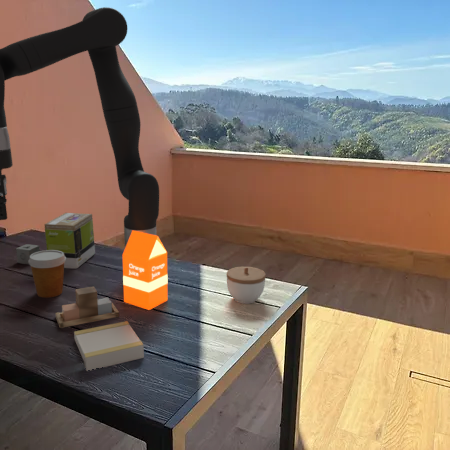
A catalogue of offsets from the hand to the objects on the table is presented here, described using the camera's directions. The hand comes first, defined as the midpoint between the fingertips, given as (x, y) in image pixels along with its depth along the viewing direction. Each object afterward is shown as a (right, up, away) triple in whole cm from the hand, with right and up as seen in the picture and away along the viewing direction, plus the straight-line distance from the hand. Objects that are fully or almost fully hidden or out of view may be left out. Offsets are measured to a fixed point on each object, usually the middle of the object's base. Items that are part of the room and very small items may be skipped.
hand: (1, 215), depth 113 cm
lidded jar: (+59, -23, +18) cm, 66 cm away
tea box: (+3, -14, +45) cm, 47 cm away
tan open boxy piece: (+20, -26, +3) cm, 33 cm away
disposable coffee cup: (+6, -22, +17) cm, 28 cm away
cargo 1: (+16, -25, +1) cm, 30 cm away
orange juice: (+33, -24, +13) cm, 42 cm away
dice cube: (-11, -15, +43) cm, 47 cm away
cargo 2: (+23, -24, +5) cm, 34 cm away
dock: (+28, -30, -10) cm, 42 cm away
